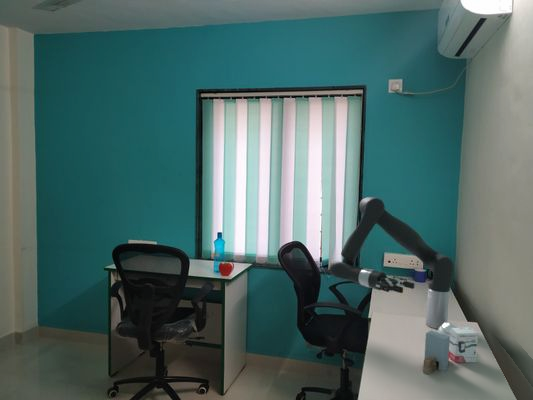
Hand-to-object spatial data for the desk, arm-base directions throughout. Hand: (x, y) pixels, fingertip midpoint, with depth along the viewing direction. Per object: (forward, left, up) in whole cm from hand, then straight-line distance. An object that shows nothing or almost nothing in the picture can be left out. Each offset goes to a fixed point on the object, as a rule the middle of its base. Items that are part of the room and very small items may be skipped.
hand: (408, 288), depth 159 cm
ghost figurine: (-20, +8, -26) cm, 34 cm away
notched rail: (+1, +13, -26) cm, 29 cm away
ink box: (-12, +17, -26) cm, 34 cm away
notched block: (+1, +13, -26) cm, 29 cm away
